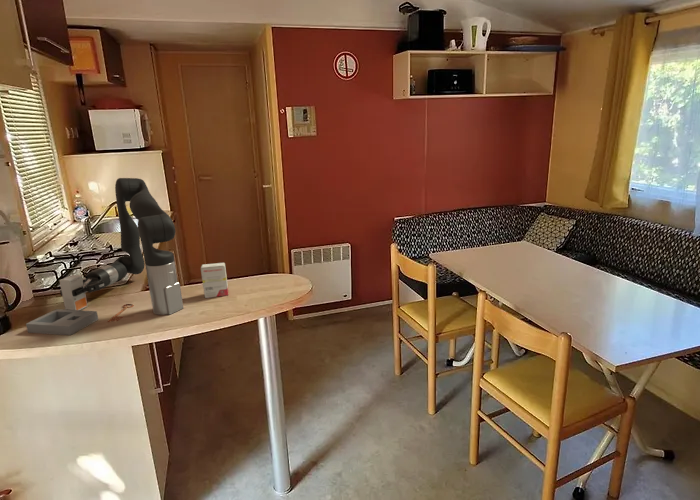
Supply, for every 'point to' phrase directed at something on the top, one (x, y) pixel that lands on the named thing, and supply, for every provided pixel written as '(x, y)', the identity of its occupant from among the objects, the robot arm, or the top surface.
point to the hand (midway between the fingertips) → (67, 293)
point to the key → (119, 313)
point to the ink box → (214, 280)
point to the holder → (62, 322)
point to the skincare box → (69, 299)
